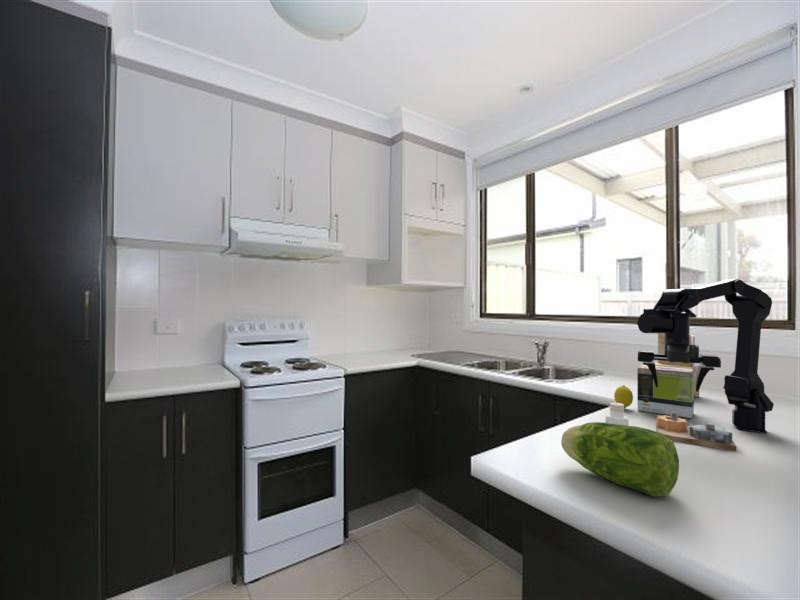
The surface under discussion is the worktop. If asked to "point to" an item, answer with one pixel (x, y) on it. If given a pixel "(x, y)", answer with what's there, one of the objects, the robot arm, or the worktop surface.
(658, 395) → the tea box
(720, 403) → the worktop surface
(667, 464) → the lettuce
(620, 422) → the pepper shaker
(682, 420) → the gear
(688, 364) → the cream block pieces
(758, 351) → the robot arm
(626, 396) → the lemon
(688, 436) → the gear board
